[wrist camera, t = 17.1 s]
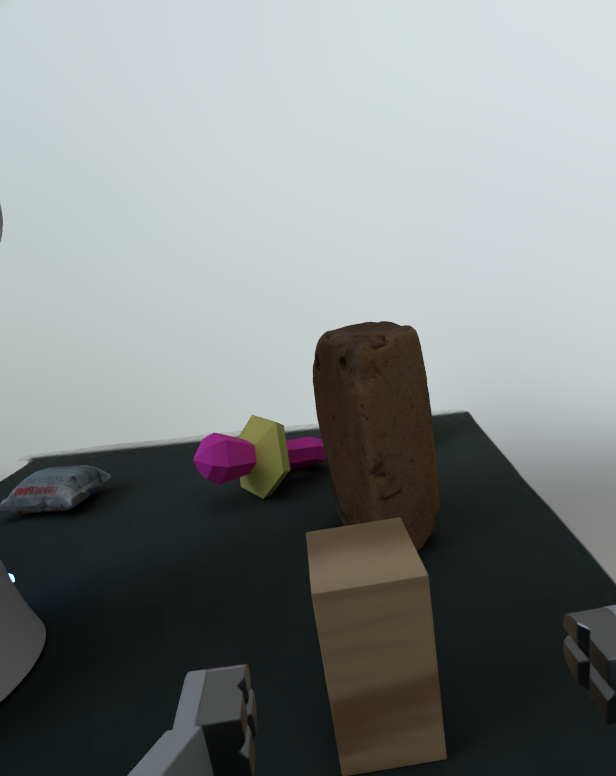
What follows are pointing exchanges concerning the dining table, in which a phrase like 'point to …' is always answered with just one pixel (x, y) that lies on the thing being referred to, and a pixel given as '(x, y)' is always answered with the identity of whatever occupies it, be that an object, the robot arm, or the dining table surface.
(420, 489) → the block
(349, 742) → the maple block
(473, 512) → the dining table surface
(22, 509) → the packaged food
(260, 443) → the toy
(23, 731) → the dining table surface
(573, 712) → the dining table surface
